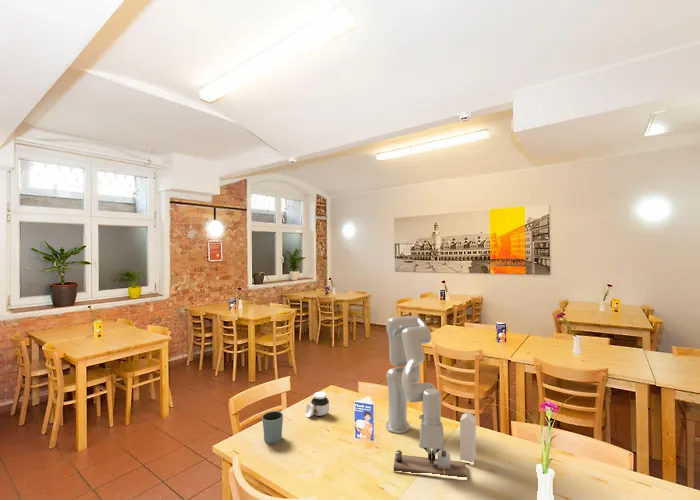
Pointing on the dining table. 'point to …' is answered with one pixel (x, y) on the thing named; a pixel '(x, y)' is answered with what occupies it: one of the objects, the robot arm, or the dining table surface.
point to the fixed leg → (399, 456)
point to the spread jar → (318, 405)
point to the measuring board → (429, 466)
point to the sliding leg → (444, 459)
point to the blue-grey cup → (272, 426)
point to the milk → (468, 437)
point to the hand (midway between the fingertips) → (431, 461)
